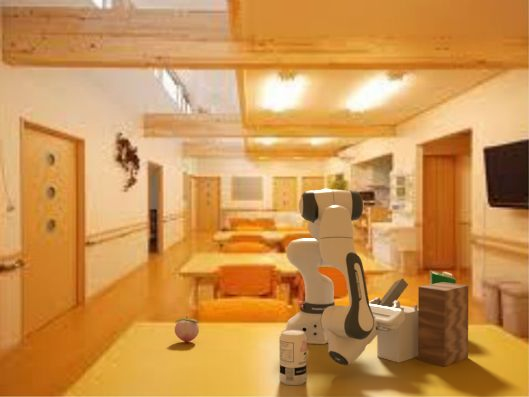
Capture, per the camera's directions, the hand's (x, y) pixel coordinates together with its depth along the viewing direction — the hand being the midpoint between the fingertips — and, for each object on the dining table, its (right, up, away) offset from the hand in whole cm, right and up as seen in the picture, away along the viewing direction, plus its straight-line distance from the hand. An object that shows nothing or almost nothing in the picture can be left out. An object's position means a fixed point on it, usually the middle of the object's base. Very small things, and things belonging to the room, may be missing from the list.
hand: (387, 300), depth 197 cm
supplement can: (-33, -21, -21) cm, 45 cm away
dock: (+5, -20, +5) cm, 22 cm away
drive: (+1, -2, +1) cm, 3 cm away
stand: (+19, -20, +1) cm, 28 cm away
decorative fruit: (-71, -20, +23) cm, 78 cm away
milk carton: (+29, -20, +35) cm, 50 cm away
